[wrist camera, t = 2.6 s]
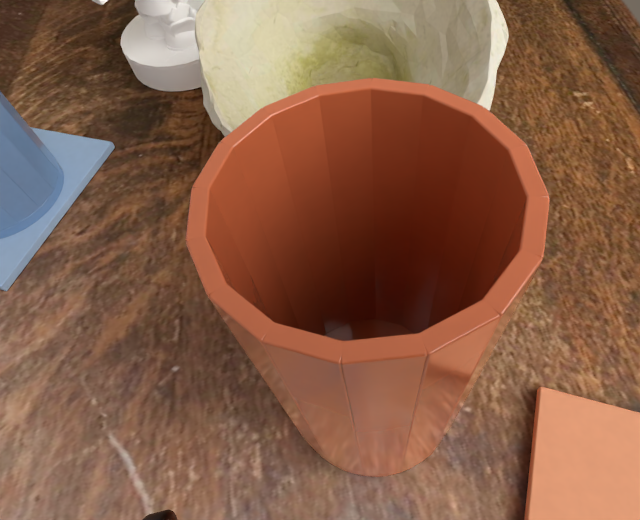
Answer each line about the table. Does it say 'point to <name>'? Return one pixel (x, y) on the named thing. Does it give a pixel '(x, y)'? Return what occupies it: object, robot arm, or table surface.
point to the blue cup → (24, 173)
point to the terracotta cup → (369, 258)
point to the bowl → (342, 48)
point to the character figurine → (163, 44)
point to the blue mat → (78, 167)
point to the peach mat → (583, 460)
